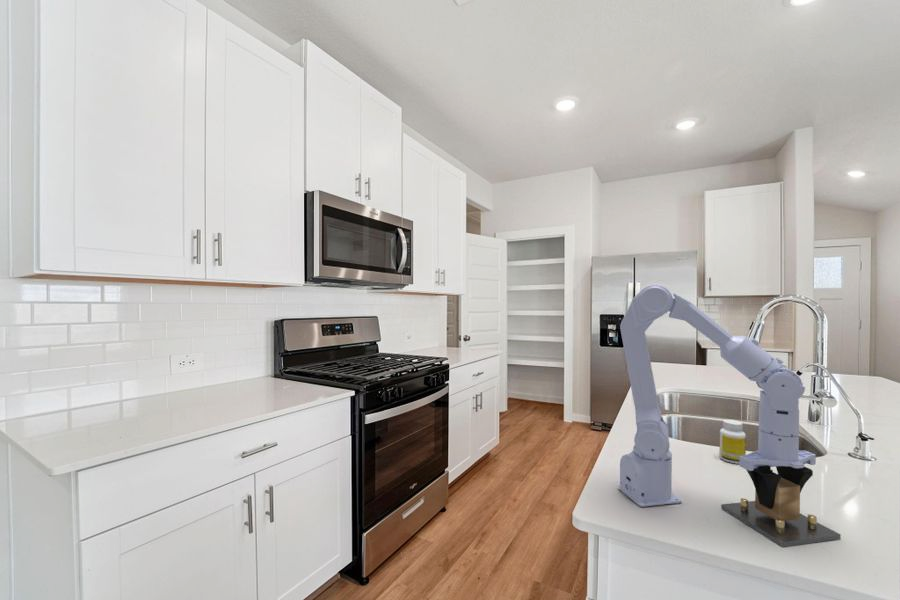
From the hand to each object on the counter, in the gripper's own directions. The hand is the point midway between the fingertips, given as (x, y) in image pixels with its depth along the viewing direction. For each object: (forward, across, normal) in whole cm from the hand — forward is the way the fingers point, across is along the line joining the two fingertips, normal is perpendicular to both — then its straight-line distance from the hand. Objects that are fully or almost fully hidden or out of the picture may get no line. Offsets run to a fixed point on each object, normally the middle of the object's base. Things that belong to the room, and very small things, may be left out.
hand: (777, 504), depth 73 cm
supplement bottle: (+4, +16, +25) cm, 30 cm away
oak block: (+2, 0, 0) cm, 2 cm away
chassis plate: (+3, 0, 0) cm, 3 cm away
